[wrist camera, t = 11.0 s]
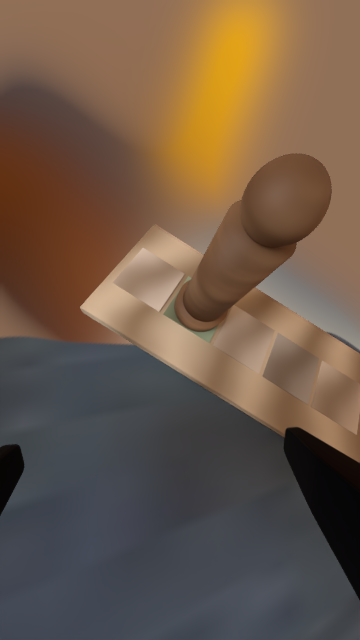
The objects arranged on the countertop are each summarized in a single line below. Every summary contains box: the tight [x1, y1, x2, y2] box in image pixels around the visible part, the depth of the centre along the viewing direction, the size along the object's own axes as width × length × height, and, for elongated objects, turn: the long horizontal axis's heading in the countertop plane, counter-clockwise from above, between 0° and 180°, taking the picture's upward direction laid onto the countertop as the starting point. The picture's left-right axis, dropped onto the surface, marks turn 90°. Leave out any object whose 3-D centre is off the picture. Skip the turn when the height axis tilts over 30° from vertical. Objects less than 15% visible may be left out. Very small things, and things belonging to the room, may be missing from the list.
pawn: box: [174, 154, 332, 332], centre depth 12 cm, size 4×4×12 cm
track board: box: [80, 224, 360, 463], centre depth 19 cm, size 26×11×1 cm, turn 60°
